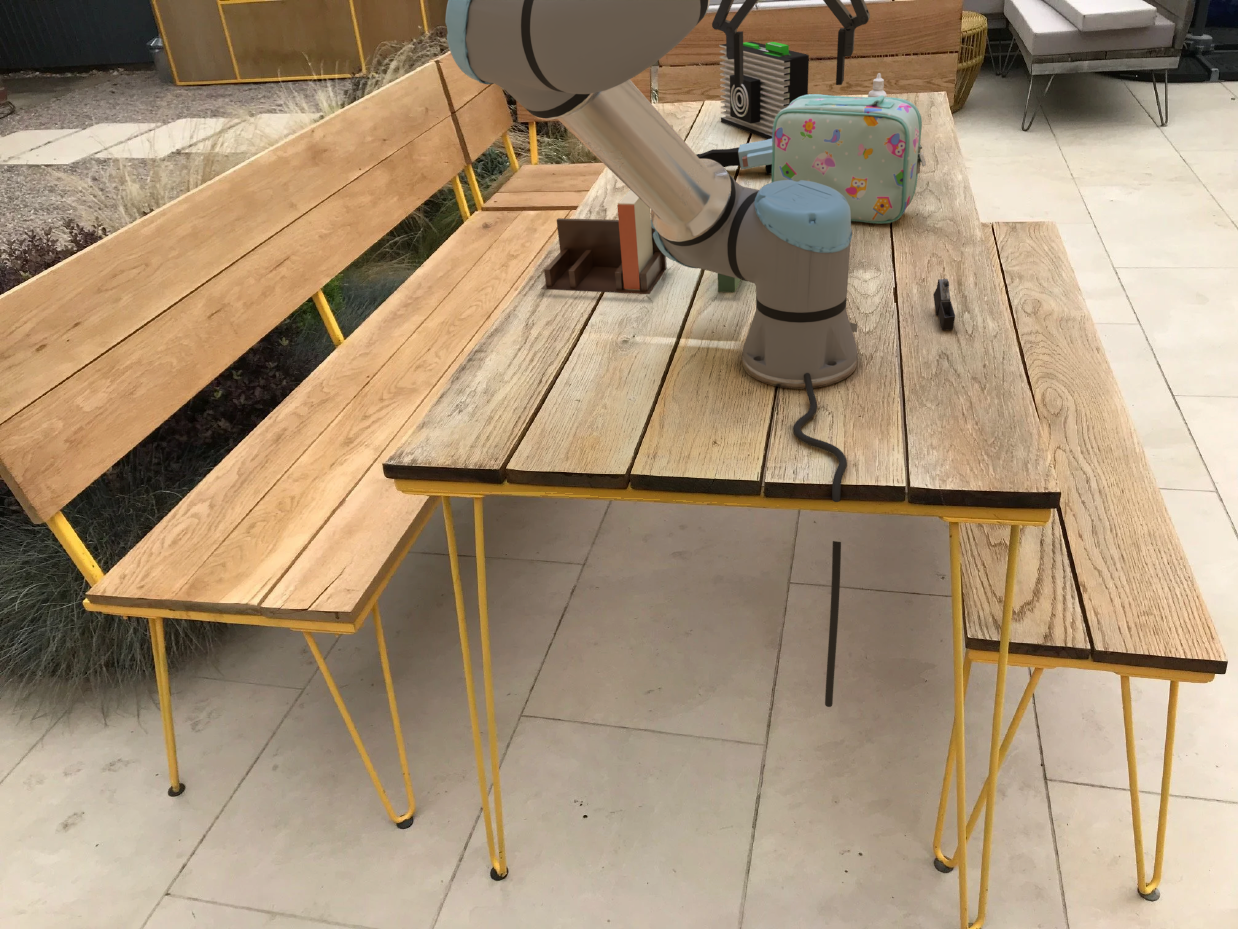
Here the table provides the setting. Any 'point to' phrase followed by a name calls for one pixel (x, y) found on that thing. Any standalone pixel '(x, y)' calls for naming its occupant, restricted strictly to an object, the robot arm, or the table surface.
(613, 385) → the table surface
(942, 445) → the table surface
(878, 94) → the eye dropper bottle
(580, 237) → the book rack
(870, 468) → the table surface
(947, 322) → the black narrow holder
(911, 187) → the lunch box
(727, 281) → the green book
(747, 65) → the electronic device
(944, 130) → the table surface
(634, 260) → the cream book
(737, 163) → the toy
